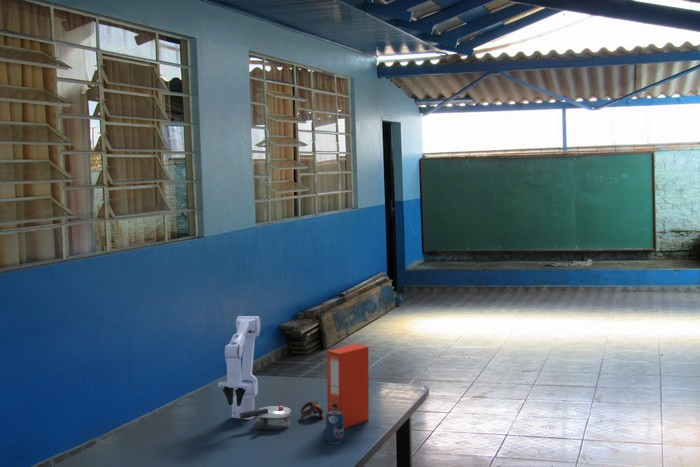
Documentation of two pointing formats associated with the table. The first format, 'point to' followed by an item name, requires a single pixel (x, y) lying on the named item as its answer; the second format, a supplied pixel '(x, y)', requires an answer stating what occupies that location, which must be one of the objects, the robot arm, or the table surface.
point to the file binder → (348, 383)
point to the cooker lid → (268, 412)
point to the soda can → (335, 427)
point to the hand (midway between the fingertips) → (234, 405)
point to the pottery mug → (311, 409)
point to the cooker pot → (272, 423)
